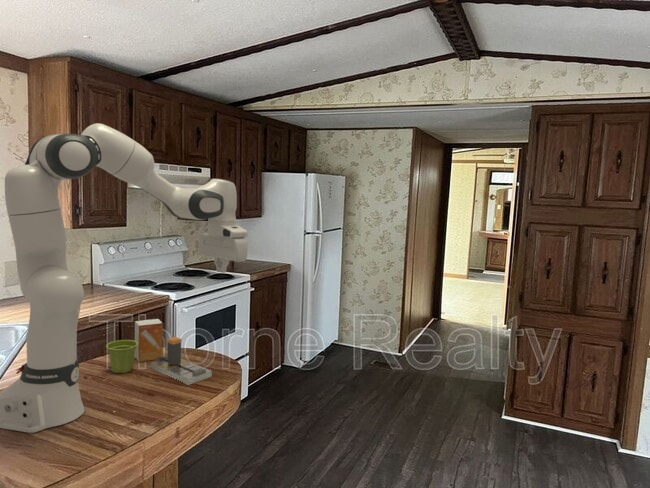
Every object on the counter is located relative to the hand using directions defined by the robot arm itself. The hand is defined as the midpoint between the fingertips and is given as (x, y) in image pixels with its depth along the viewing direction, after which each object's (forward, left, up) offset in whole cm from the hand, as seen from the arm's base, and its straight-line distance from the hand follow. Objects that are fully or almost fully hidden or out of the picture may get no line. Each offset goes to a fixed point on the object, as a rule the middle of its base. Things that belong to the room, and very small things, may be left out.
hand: (221, 272), depth 154 cm
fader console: (-12, -3, -33) cm, 35 cm away
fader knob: (-15, -1, -31) cm, 34 cm away
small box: (-27, +9, -33) cm, 44 cm away
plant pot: (-31, -3, -33) cm, 46 cm away
